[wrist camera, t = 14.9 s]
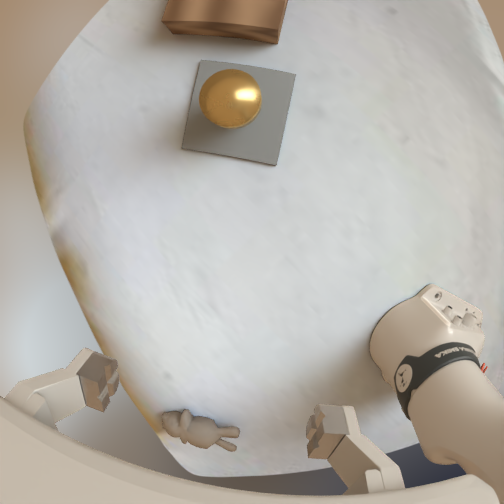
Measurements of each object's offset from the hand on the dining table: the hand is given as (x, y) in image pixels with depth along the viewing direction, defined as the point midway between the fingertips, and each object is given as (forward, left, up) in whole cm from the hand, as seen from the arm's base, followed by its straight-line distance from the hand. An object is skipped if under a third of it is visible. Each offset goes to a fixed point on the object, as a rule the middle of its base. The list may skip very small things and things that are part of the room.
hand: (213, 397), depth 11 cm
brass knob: (+5, -14, -29) cm, 32 cm away
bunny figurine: (+2, +40, -30) cm, 50 cm away
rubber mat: (+5, -14, -29) cm, 33 cm away
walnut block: (+9, -31, -29) cm, 43 cm away
